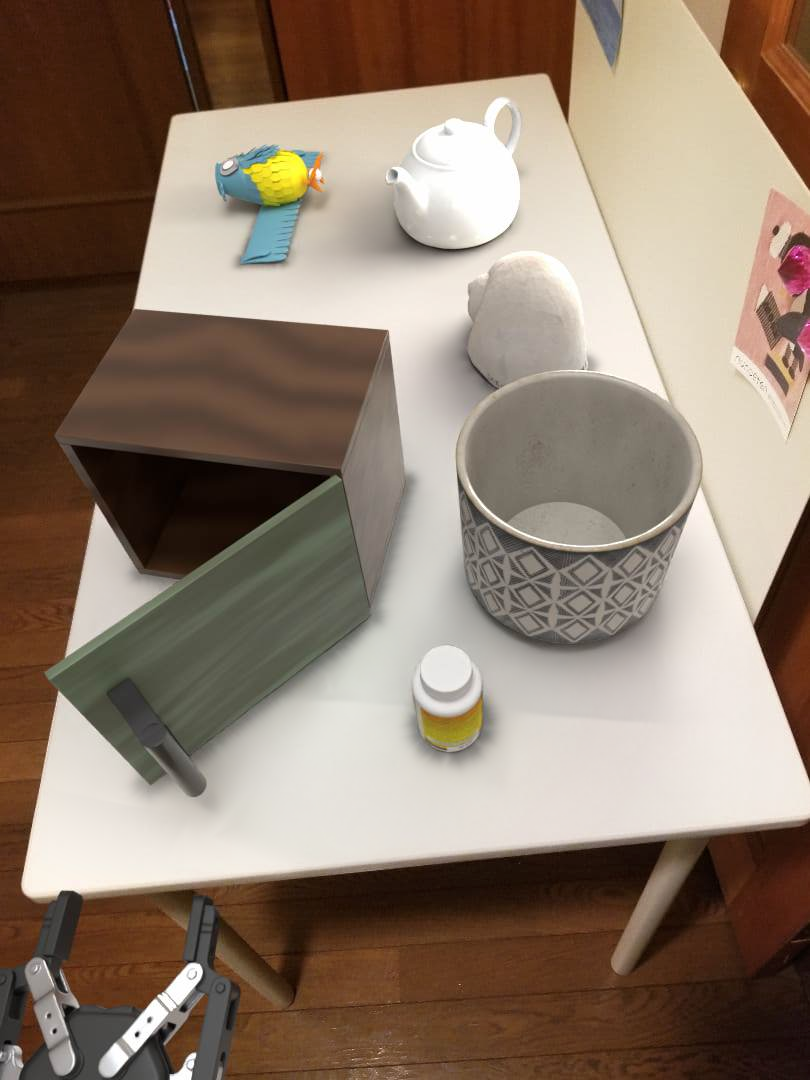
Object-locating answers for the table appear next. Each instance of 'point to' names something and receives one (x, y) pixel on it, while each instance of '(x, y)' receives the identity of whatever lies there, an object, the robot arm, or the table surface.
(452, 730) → the supplement bottle
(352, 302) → the table surface
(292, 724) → the table surface
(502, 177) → the teapot
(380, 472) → the cupboard
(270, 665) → the cupboard door
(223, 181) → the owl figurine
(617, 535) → the planter
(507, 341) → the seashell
